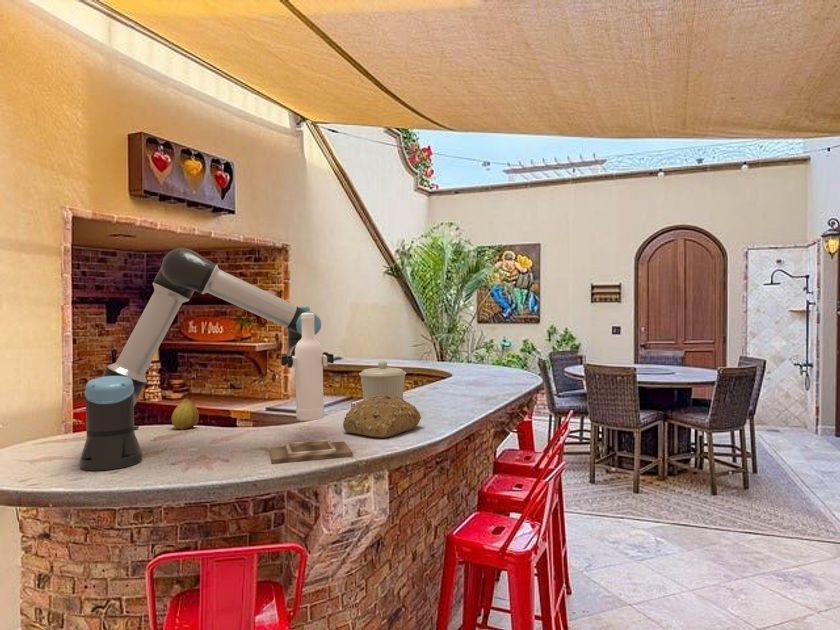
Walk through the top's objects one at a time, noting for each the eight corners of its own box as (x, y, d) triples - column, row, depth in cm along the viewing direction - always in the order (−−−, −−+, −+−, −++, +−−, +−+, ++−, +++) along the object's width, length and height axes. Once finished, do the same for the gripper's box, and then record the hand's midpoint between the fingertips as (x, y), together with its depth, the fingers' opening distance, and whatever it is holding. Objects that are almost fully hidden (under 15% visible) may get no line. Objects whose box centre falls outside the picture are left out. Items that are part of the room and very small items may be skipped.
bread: (376, 421, 213) (375, 389, 213) (426, 427, 202) (426, 392, 202) (333, 435, 193) (332, 398, 192) (386, 442, 181) (386, 403, 181)
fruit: (166, 430, 204) (165, 396, 204) (182, 425, 213) (182, 392, 213) (188, 431, 202) (187, 396, 202) (204, 425, 211) (203, 392, 211)
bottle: (290, 419, 167) (287, 313, 166) (310, 414, 173) (308, 313, 172) (309, 421, 162) (306, 313, 161) (330, 417, 168) (327, 312, 168)
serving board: (271, 463, 158) (271, 455, 158) (269, 451, 171) (269, 444, 171) (352, 456, 164) (352, 448, 164) (344, 445, 177) (344, 438, 177)
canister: (362, 411, 233) (361, 358, 233) (407, 411, 233) (406, 358, 233) (357, 420, 215) (356, 363, 215) (406, 420, 215) (405, 362, 215)
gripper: (335, 365, 187) (347, 373, 166) (269, 369, 181) (272, 377, 160) (335, 342, 187) (347, 347, 165) (268, 345, 181) (272, 350, 159)
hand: (310, 362), depth 163 cm, fingers closed on bottle, 8 cm apart
